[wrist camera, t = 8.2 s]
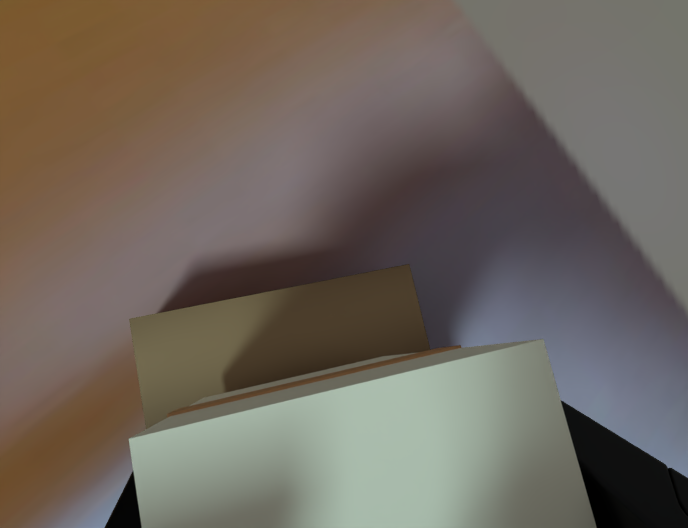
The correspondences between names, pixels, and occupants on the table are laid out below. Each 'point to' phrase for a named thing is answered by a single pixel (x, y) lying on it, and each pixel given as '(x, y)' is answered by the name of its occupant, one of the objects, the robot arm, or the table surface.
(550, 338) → the table surface
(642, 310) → the table surface
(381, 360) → the carton
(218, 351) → the base
